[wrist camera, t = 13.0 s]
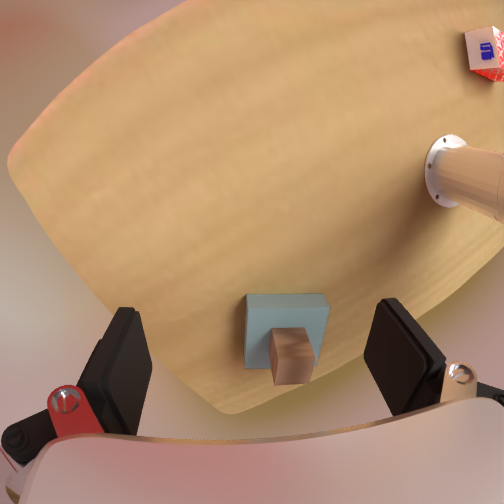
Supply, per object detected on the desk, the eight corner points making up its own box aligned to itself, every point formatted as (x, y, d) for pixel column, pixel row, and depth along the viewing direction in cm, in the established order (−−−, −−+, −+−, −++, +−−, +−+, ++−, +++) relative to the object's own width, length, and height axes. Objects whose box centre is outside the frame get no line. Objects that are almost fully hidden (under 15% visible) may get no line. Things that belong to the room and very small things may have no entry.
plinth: (322, 293, 45) (330, 307, 41) (310, 350, 50) (316, 365, 46) (246, 294, 44) (248, 308, 40) (243, 353, 49) (245, 369, 45)
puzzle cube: (494, 81, 32) (523, 81, 25) (469, 70, 32) (500, 67, 24) (489, 45, 29) (516, 42, 22) (463, 32, 29) (492, 25, 21)
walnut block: (304, 327, 42) (315, 358, 36) (299, 351, 44) (309, 383, 38) (271, 327, 42) (278, 360, 36) (268, 352, 44) (274, 385, 37)
